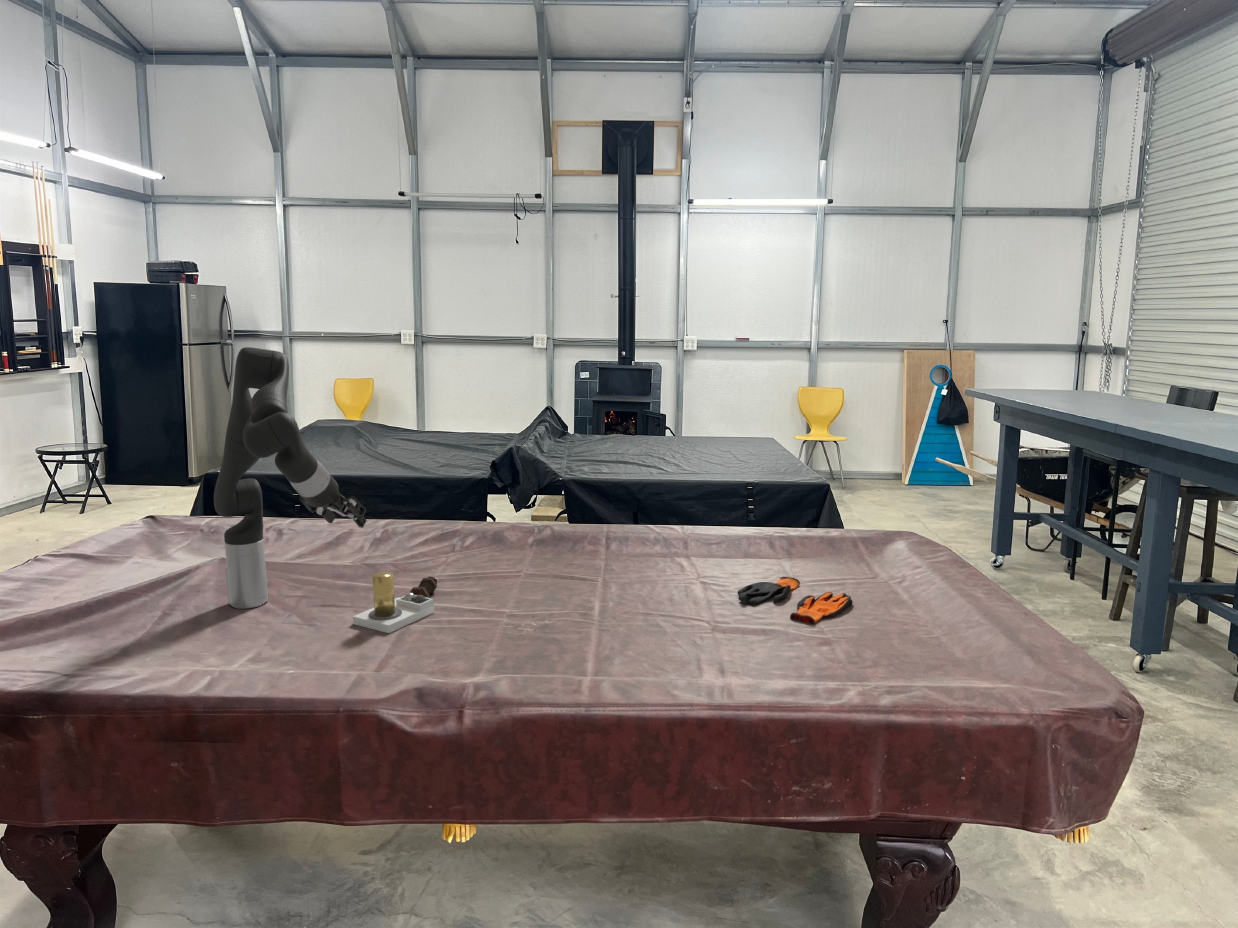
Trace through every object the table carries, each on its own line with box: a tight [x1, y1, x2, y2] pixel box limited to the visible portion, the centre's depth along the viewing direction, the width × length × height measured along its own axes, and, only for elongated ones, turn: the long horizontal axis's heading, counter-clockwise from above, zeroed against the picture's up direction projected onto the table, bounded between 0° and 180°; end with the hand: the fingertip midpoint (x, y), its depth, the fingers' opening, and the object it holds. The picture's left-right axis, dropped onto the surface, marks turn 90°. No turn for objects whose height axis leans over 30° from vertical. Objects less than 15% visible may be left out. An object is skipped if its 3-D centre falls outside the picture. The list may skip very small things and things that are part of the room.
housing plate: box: [352, 595, 435, 634], centre depth 210 cm, size 12×16×4 cm
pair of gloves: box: [737, 576, 853, 625], centre depth 223 cm, size 27×24×3 cm
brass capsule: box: [371, 571, 396, 617], centre depth 206 cm, size 5×5×10 cm
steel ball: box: [404, 592, 416, 602], centre depth 214 cm, size 3×3×3 cm
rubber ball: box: [414, 595, 426, 604], centre depth 212 cm, size 3×3×3 cm
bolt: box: [409, 576, 438, 598], centre depth 225 cm, size 6×5×15 cm
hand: (347, 522), depth 192 cm, fingers open, 8 cm apart
